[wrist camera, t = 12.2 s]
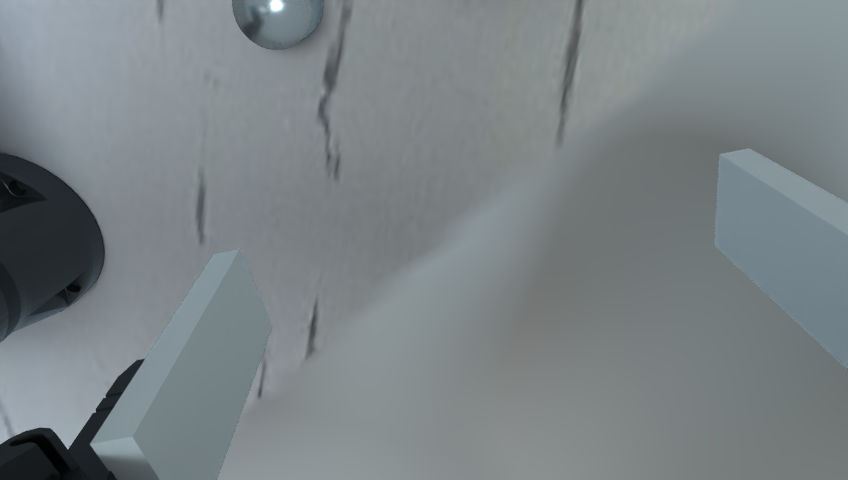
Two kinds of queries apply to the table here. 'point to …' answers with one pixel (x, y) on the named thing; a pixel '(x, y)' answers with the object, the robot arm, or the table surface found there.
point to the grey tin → (277, 20)
